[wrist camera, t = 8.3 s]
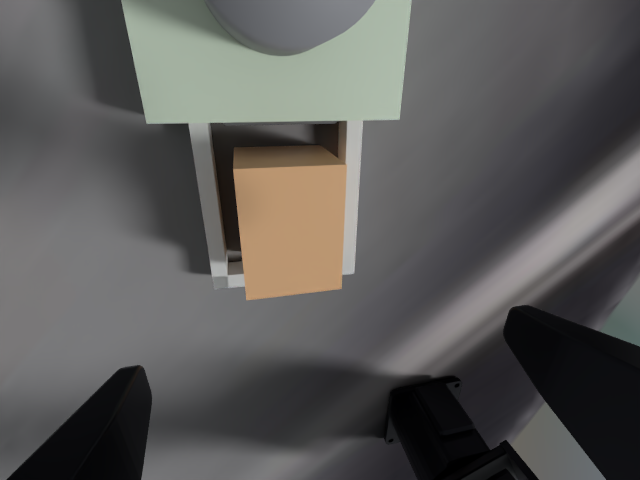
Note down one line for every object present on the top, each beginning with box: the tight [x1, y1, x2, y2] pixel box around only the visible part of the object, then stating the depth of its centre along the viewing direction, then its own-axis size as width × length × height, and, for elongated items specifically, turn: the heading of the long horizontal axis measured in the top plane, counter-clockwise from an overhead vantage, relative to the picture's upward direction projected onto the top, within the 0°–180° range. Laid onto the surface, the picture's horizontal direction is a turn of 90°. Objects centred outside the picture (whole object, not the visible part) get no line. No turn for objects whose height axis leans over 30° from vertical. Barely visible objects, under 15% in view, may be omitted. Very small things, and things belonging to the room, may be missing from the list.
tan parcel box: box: [233, 145, 347, 300], centre depth 16 cm, size 6×4×5 cm
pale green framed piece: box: [121, 0, 412, 290], centre depth 13 cm, size 19×11×6 cm, turn 0°
